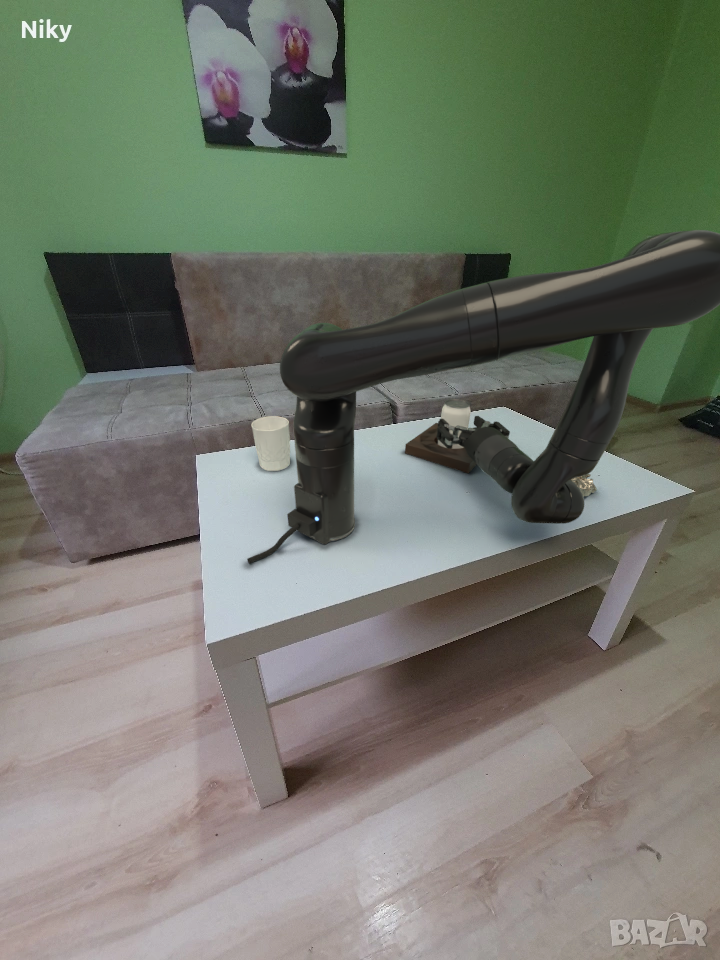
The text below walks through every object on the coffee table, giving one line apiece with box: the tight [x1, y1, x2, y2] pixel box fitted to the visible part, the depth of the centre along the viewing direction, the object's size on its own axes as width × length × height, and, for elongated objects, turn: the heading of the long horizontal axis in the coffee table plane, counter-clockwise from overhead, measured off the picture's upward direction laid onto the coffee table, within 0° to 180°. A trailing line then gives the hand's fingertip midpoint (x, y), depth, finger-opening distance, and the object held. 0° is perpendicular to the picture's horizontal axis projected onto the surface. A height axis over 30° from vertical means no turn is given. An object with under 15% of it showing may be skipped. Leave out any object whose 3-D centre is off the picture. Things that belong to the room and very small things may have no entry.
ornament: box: [571, 473, 598, 497], centre depth 77 cm, size 8×7×4 cm
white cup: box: [250, 415, 291, 472], centre depth 85 cm, size 8×8×10 cm
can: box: [438, 398, 472, 449], centre depth 91 cm, size 6×6×12 cm
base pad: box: [404, 422, 478, 474], centre depth 93 cm, size 16×16×2 cm
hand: (458, 421), depth 88 cm, fingers open, 8 cm apart
